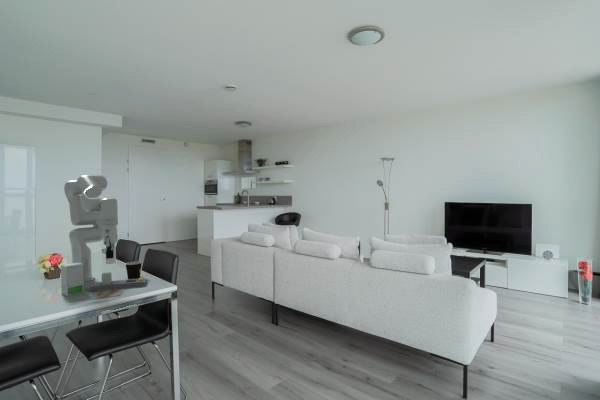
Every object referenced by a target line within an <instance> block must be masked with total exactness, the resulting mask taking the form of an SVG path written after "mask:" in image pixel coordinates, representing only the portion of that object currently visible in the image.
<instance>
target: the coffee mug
mask: <svg viewBox="0 0 600 400" xmlns="http://www.w3.org/2000/svg"><path fill="white" fill-rule="evenodd" d="M142 263H143V262H142V261H137V260H136V261H130V262H125V269H126V275H127V280H128V279H139V278H141V273H142Z"/></svg>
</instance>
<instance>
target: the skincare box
mask: <svg viewBox="0 0 600 400" xmlns="http://www.w3.org/2000/svg"><path fill="white" fill-rule="evenodd" d="M60 275H61V276H60V278H61V281H60V282H61V283H60V284H61V295H63V296H66V297H69V296H72V295H76V294H80V293H83V292H84V293H85V290H84V289H85V287H84V286H85V284H84V283H85V282H84V277H83V264H82V263H72V262H71V263H66V264H61V265H60Z"/></svg>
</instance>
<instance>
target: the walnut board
mask: <svg viewBox="0 0 600 400" xmlns="http://www.w3.org/2000/svg"><path fill="white" fill-rule="evenodd" d="M124 290H125V288H121V289H111V290H100V292H99V293H98V294H97V295H96V296H95V299H102V298H112V297H120V296H121V295H122V293H123V292H124Z"/></svg>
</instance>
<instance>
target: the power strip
mask: <svg viewBox="0 0 600 400" xmlns="http://www.w3.org/2000/svg"><path fill="white" fill-rule="evenodd" d="M146 283H147V278H146V277H140V278H139V279H128V278H127V279H119V280H112V284H105V285H102V281H96V282H93V283H92V284H91V285H90V286H89V292H99V291H100V292H101V291H111V290H120V289H128V288H129V289H130V288H139V287H145V285H146Z"/></svg>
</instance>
